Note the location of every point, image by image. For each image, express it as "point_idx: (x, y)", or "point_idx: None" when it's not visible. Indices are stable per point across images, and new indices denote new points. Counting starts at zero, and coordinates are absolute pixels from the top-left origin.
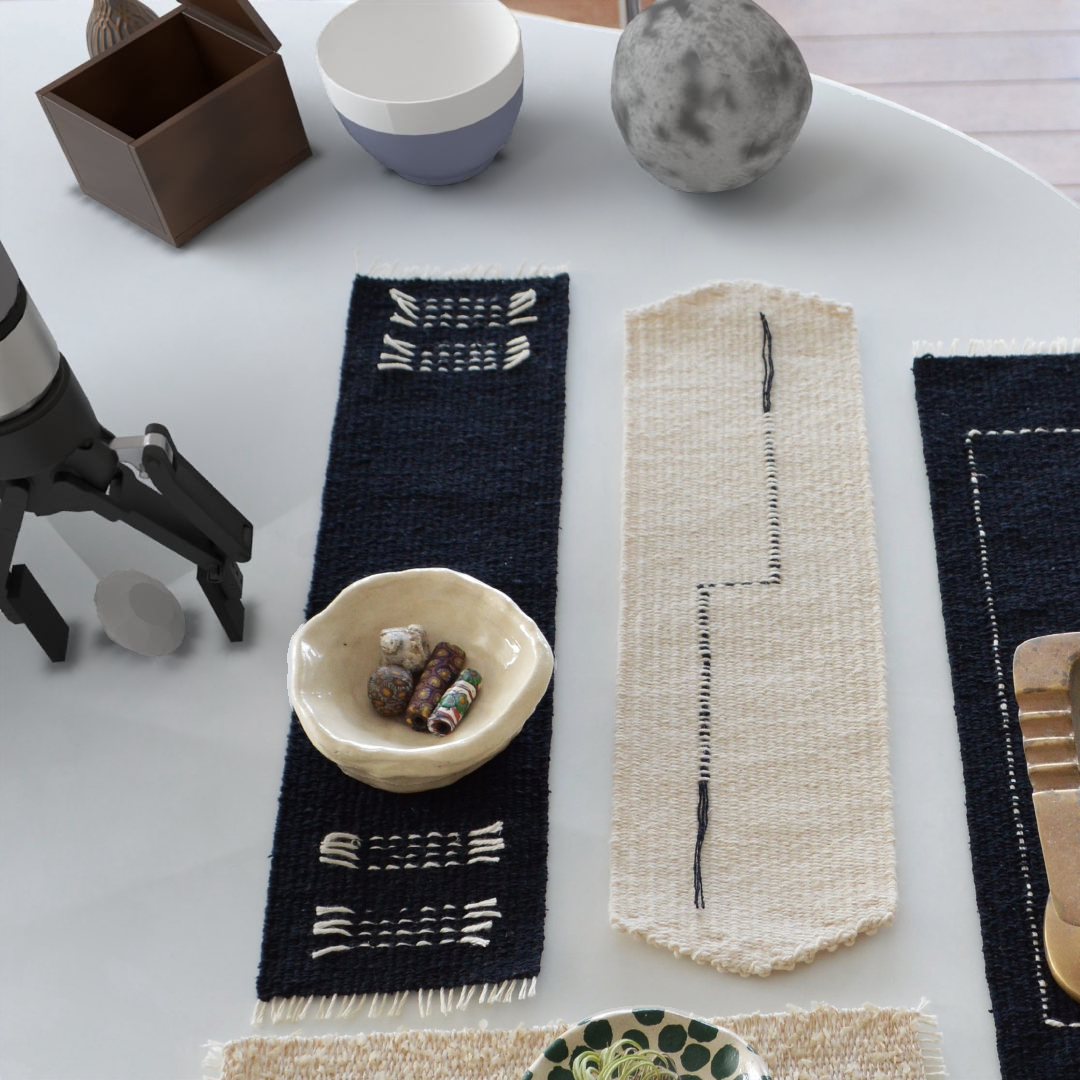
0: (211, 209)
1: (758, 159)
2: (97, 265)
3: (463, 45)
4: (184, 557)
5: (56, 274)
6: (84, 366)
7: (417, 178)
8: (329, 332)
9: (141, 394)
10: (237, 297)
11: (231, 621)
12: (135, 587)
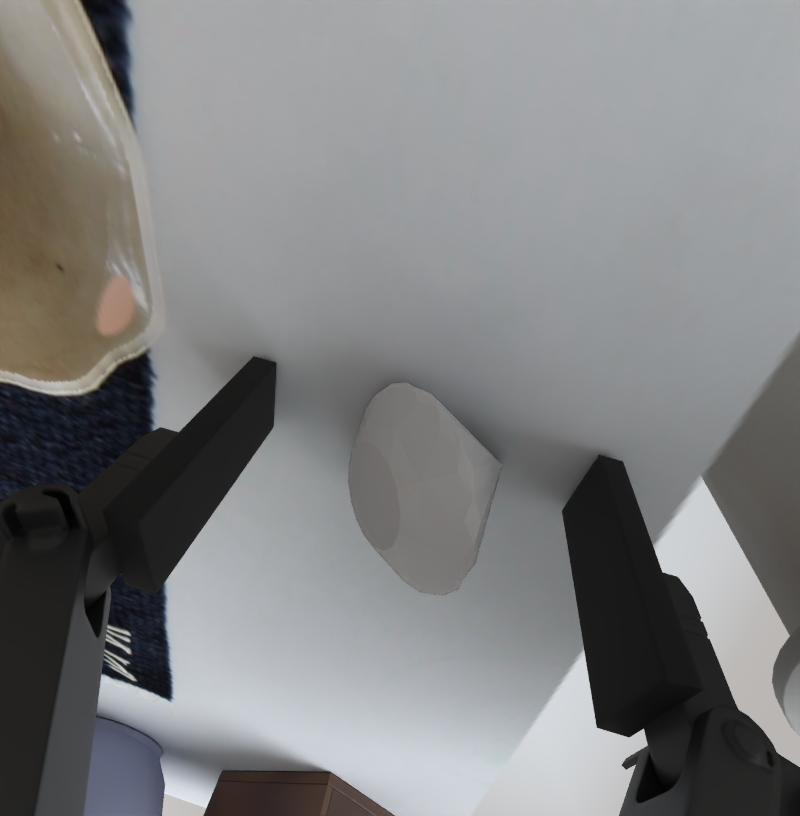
0: (292, 787)
1: None
2: (400, 788)
3: None
4: (68, 614)
5: (437, 797)
6: (432, 745)
7: (128, 734)
8: (187, 676)
9: (379, 707)
10: (278, 729)
11: (220, 391)
12: (384, 544)
